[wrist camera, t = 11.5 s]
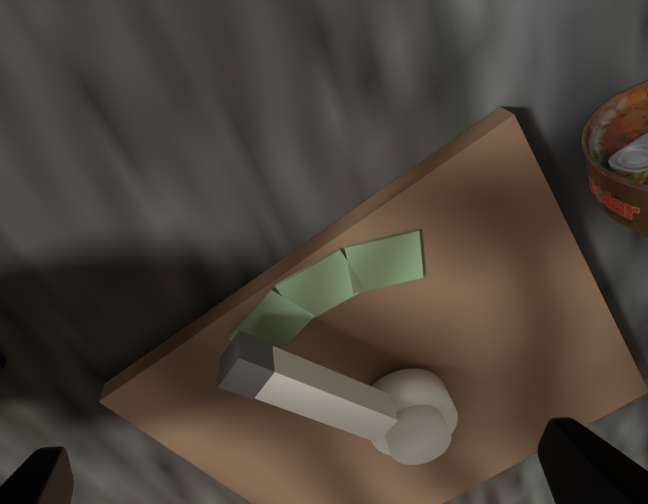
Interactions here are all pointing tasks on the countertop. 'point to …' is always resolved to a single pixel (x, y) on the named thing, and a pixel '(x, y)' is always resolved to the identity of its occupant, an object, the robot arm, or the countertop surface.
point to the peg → (346, 398)
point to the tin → (620, 157)
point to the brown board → (402, 335)
